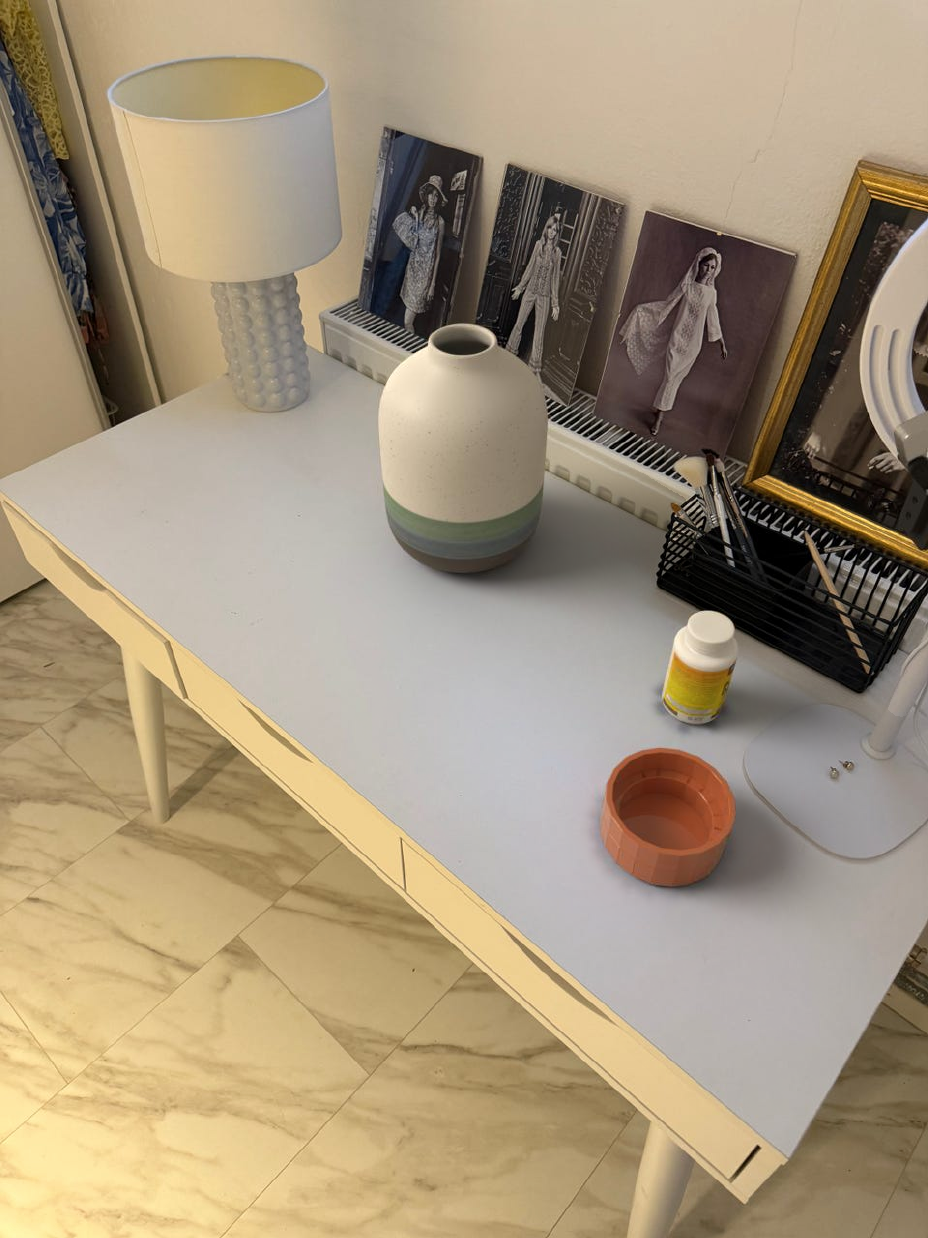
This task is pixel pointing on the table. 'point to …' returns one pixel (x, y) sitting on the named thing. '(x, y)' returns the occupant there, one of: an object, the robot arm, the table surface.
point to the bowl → (666, 816)
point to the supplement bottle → (700, 668)
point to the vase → (463, 451)
